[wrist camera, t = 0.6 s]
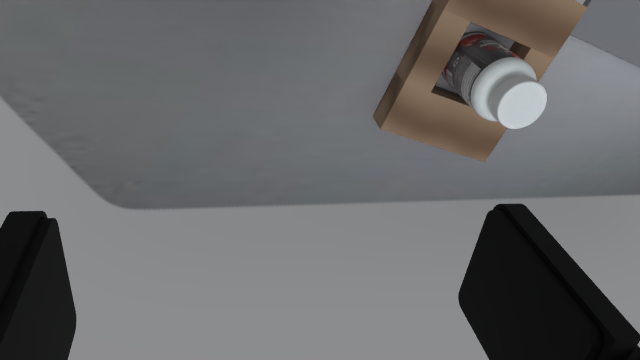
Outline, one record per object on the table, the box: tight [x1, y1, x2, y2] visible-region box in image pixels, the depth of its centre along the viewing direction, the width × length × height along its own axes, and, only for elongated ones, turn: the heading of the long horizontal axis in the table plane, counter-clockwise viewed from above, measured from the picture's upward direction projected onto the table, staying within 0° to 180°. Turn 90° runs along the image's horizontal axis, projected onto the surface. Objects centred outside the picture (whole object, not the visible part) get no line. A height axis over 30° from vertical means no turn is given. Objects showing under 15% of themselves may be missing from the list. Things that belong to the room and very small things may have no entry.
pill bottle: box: [442, 32, 547, 129], centre depth 42 cm, size 5×5×10 cm
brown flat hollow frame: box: [373, 0, 588, 162], centre depth 45 cm, size 16×12×2 cm
